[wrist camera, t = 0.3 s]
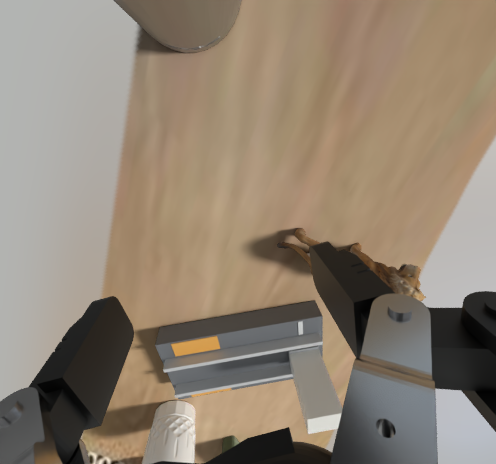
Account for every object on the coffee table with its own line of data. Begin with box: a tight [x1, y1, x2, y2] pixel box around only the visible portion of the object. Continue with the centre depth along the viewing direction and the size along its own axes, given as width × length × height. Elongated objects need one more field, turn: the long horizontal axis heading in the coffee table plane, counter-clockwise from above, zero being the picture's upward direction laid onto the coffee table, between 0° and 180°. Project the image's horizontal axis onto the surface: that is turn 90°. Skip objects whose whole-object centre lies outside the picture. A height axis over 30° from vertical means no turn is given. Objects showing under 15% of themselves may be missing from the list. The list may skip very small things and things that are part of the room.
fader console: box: [155, 301, 323, 399], centre depth 37 cm, size 12×22×4 cm, turn 98°
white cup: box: [142, 400, 195, 464], centre depth 41 cm, size 8×8×10 cm
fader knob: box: [288, 345, 343, 434], centre depth 32 cm, size 4×4×9 cm
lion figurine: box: [277, 228, 426, 301], centre depth 29 cm, size 15×5×9 cm, turn 80°
